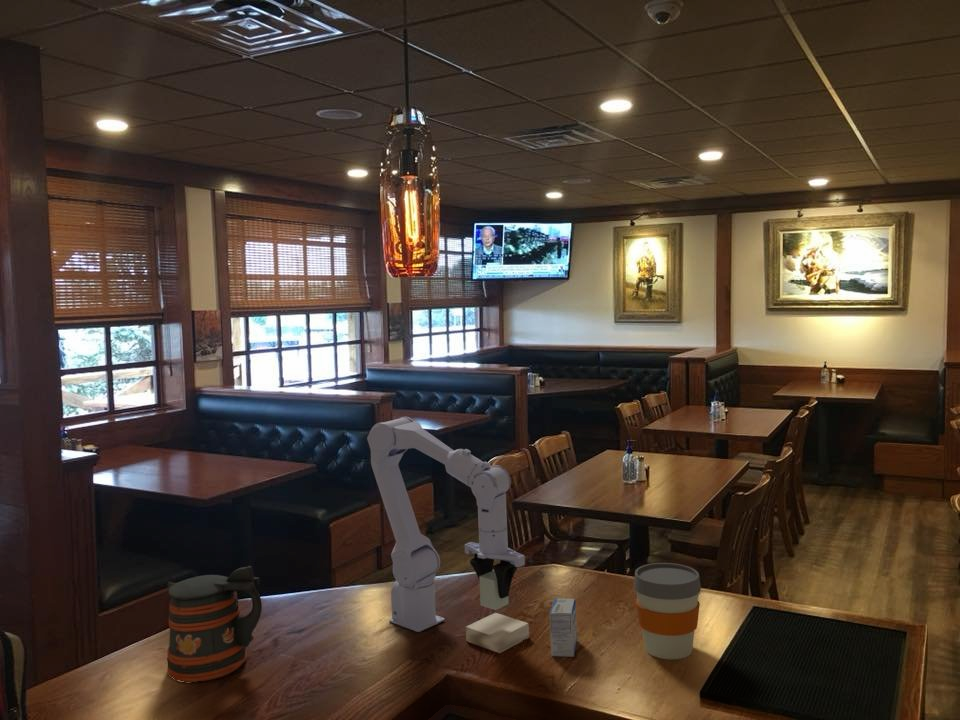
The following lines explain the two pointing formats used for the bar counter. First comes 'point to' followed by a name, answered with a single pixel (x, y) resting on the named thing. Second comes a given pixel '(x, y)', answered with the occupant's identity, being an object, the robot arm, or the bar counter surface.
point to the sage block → (490, 592)
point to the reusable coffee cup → (667, 608)
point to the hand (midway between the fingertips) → (495, 594)
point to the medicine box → (563, 627)
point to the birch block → (497, 632)
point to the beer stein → (210, 625)
